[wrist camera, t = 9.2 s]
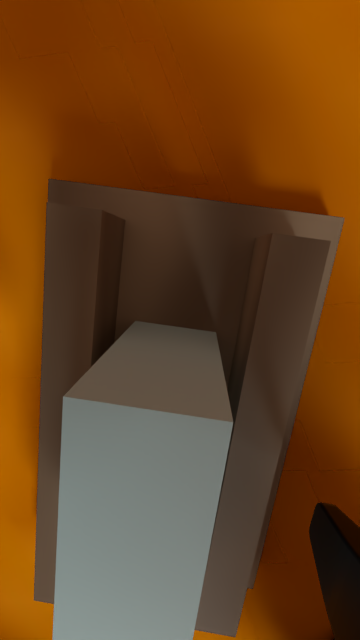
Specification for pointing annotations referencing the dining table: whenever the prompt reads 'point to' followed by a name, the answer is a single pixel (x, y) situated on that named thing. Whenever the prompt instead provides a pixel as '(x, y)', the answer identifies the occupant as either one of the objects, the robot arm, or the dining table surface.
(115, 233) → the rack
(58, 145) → the dining table surface
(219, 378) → the pale grey block
